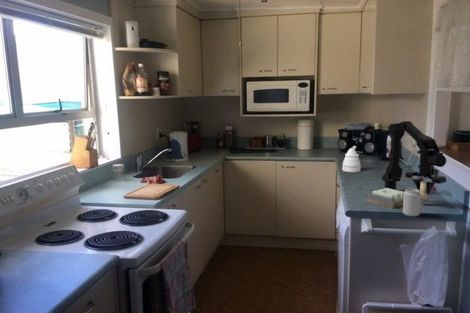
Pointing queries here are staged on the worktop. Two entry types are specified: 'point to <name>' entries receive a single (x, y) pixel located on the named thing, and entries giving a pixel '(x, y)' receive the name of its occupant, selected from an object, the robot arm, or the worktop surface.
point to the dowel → (423, 191)
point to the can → (412, 202)
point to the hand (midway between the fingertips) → (424, 193)
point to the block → (390, 194)
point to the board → (383, 200)
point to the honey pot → (351, 161)
